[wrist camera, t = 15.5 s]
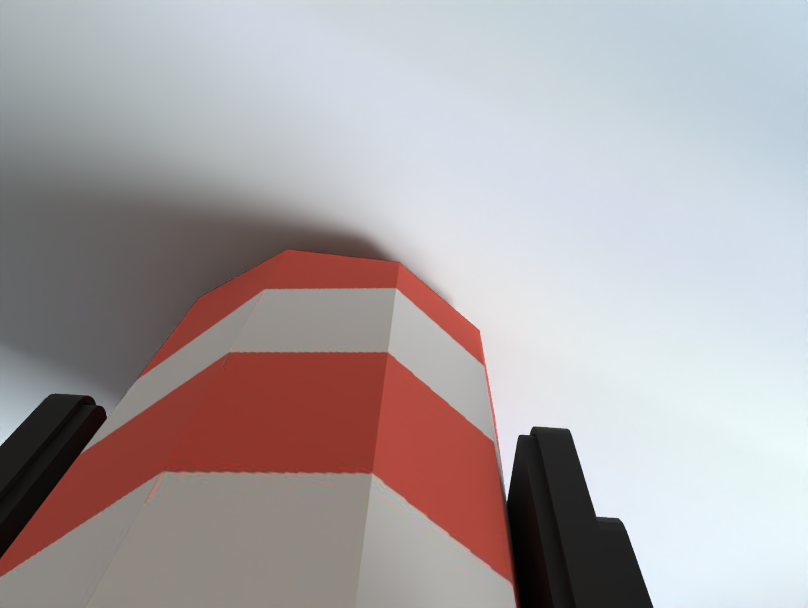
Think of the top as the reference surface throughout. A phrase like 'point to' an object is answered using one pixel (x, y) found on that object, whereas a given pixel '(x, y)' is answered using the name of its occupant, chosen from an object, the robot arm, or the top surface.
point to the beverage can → (288, 459)
